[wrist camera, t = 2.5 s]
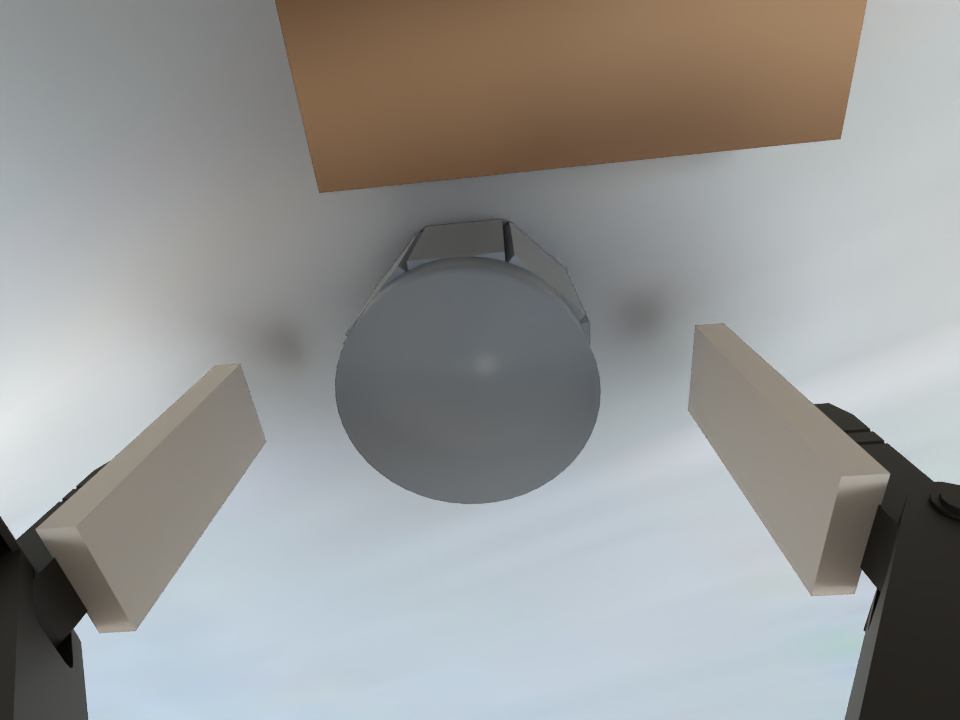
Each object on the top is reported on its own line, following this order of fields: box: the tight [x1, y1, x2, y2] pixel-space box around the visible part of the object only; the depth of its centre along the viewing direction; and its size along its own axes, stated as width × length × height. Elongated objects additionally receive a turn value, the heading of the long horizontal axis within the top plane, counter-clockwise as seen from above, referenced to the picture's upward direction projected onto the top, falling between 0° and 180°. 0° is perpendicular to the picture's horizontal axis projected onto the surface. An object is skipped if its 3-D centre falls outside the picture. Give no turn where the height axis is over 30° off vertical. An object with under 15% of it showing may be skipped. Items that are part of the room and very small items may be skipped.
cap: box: [335, 219, 600, 504], centre depth 16 cm, size 7×7×6 cm
